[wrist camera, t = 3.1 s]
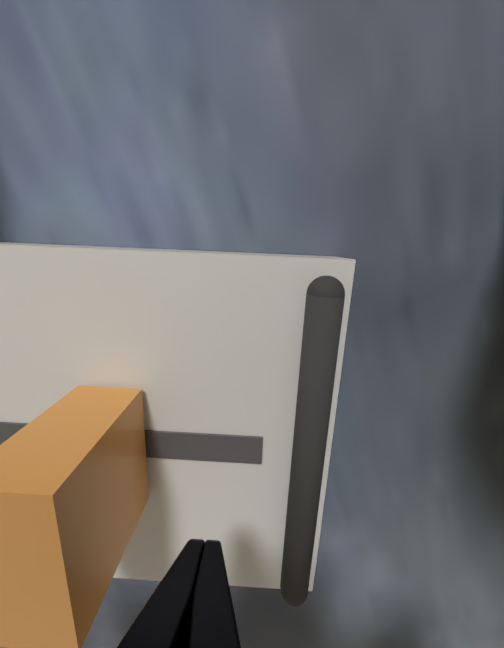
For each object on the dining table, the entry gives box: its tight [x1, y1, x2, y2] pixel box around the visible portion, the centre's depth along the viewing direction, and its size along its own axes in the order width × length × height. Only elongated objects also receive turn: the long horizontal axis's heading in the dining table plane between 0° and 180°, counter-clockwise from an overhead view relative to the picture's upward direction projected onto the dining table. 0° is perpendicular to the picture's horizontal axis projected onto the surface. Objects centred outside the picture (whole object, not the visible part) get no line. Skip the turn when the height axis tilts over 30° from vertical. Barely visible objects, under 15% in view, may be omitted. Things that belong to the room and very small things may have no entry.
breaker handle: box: [0, 385, 149, 648], centre depth 9 cm, size 2×5×5 cm, turn 178°
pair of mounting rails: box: [280, 275, 345, 606], centre depth 11 cm, size 16×14×1 cm
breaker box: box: [0, 242, 356, 591], centre depth 13 cm, size 17×15×3 cm
